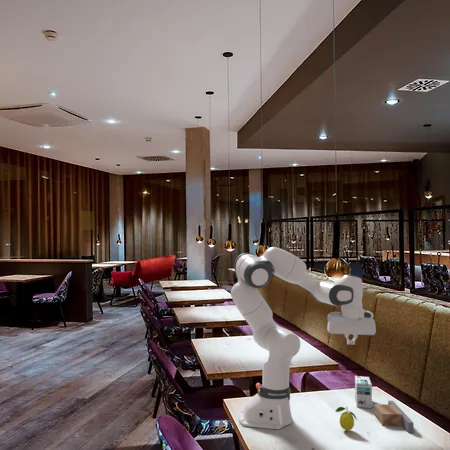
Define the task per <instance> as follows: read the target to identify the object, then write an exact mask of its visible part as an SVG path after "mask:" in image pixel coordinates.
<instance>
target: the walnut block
mask: <svg viewBox="0 0 450 450" xmlns="http://www.w3.org/2000/svg"><path fill="white" fill-rule="evenodd" d="M374 417H375V418H376V420H377V421H378V422H379V423H380V425H381V426H382V427H403V426H402V414H401V412H400V411H399V410H398V409H397V408H396V407H395V406H394V405H391V404H388V403H386V404H379V403H377V404H374Z"/></svg>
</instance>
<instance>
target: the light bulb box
mask: <svg viewBox="0 0 450 450" xmlns="http://www.w3.org/2000/svg"><path fill="white" fill-rule="evenodd" d="M354 399H355V404H356V407H357V408H366V409H372V408H373V384H372V382H371V379H370V376H361V375H359V376H358V375H354Z"/></svg>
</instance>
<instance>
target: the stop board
mask: <svg viewBox="0 0 450 450" xmlns="http://www.w3.org/2000/svg"><path fill="white" fill-rule="evenodd" d="M387 404H391V405H394V406H395V407H396V408H397V409H398V410H399V411H400V412H401V414H402V426H401V427H402V428H404V429H405V431H406V432H407V433H408V434H413V433H414V421H412V419H411V418H410V417H409V416H408V415H407V414H406V413H405V411H403V410H402V409H401V408H400V406H398V405H397V403H396V402H395V401H394V400H387Z"/></svg>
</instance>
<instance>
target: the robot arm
mask: <svg viewBox="0 0 450 450" xmlns="http://www.w3.org/2000/svg"><path fill="white" fill-rule="evenodd" d="M274 276H276V277H278V278H279V279H281V280H283V281H285V282H287V283H291V284H294V285H298V286H299V287H301V288H303V289H304V290H306V291H308V292H309V294H310V295H311V296H312V298H313V299H314V300H315V301H316V302H318V303H322V304H323V303H324V304H328V305H330V306H335V307H341V308H340V310H341V311H331V312H329V313H328V314H327V316H326V318H327V319H326V320H327V327H326V328H327V329H326V330H327V332H328V333H329V334H332V335H333V334H334V335H344V337H345V338H346V345H351V346H352V345H353V346H354V345H356V340H357V339H358V336H359V335H360V336H362V335H363V336H366V335H367V336H375V334H376V332H377V329H376V327H377V326H376V321H375V319H374V313H373V312H371V311H369V310H367V309H364V308H363V301H362V299H363V295H364V289H363V288H364V287H363V279H362V278H361V277H359V276H357V275H353V274H352V275H351V274H344V275H343V276H342V277H341V278H339V279H338V280H336V281H333V282H332V281H328V280H325V279H317V278H315V277H314V276H312V275H310V274H309V273H307V265H306V263H305V262H304V261H303V260H302V259H301V258H300V257H298V256H296V255H294V254H293V253H291V252H289V251H288V250H285V249H283V248H280V247H276V246H271V247H268V248H267V249H265V251H264V252H263V254H262V255H261V256H259V257H258V256H256V255H255V254H253V253H250V252H244V253H240V254H239V255H238V256H237V257H236V258H235V261H234V277H235V279H236V281H237V282H235V284H233V286H232V288H231V289H230V296H231V297H230V298H231V299H232V301H233V304H234V305H235V307H236V309H237V310H238V312H239V313H240V314H241V315H242V317H243V319H244V320H245V321H246V323H247V325H249V327H250V330H251V331H252V335H253V336H252V337H253V340H254V341H255V343H256V344H257V345H258V346H259V347H260V348H261V349H264V350H266V351H268V359H267V362H265V363H263V366H262V381H261V382H262V384H261V383H260V382H257V383H256V384H255V387H256V389H257V393H256V394H255V395H253V396H251V397H250V398H249V399H247V401H246V402H245V404H244V408H243V409H242V410H241V411H240V412H239V414H238V422H239V423H240V425H242V427H243V426H244V427H251V428H260V429H261V428H262V429H272V430H281V429H282V428H284V427H286V426H289V425H290V424H292V423H293V421H294V420H293V419H294V418H293V415H292V411H291V406H290V404H291V403H290V400H291V387H290V369H291V363H292V360H293V358H294V357H295V356H296V355H297V354H298V353H299V352H300V348H301V340H300V338H299V336H298V335H297V334H296V333H294V332H293V331H291V330H289V329H287V328H285V327H282V326H281V325H278V324H277V323H276V322H275V320H274V318H273V316H274V315H273V311H272V309H271V307H270V306H269V304H268V303H267V302H266V300H265V298H264V297H263V295H262V294H261V293H260V291H259V289H262V288H264V287H266V286H267V285H268V284H269V283H270V282H271V279H272V278H274ZM350 335H352V336H353V338H352V339H350V338H349V337H350Z"/></svg>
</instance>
